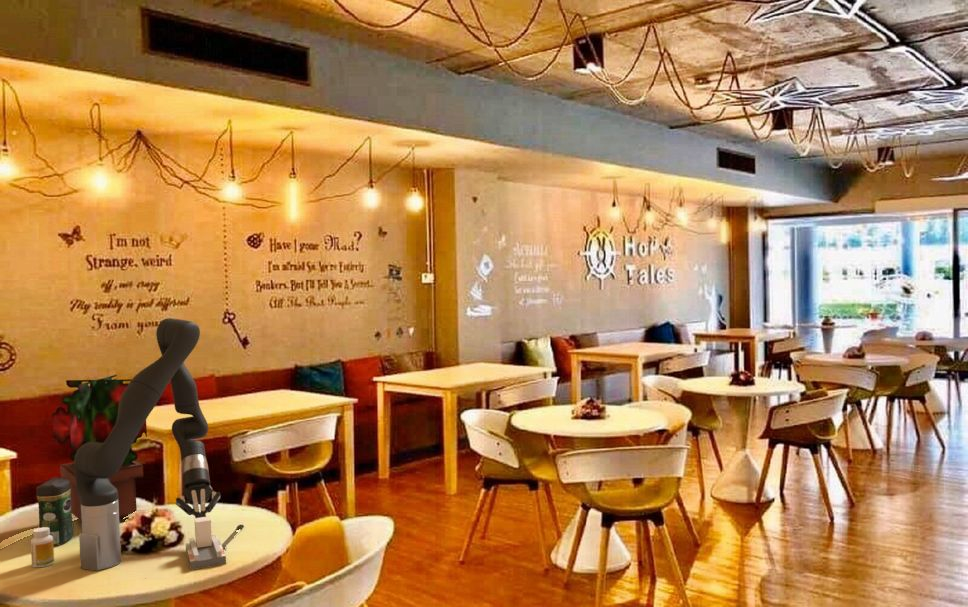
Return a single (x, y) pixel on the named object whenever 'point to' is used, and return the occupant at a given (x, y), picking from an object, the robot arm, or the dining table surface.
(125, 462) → the potted plant
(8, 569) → the dining table surface
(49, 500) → the coffee jar
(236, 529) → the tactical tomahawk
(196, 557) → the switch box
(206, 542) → the switch tab
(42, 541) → the supplement bottle
